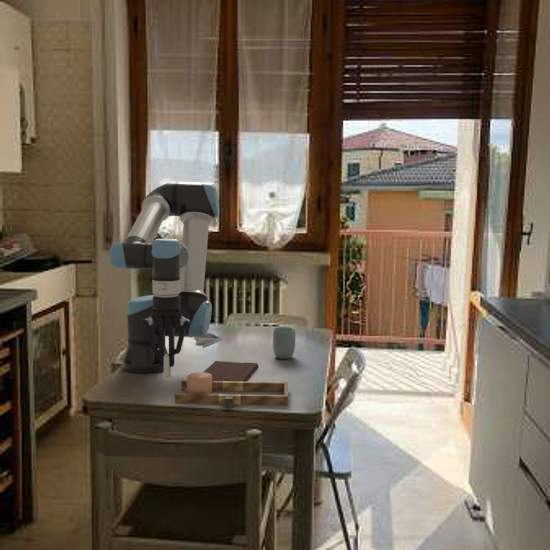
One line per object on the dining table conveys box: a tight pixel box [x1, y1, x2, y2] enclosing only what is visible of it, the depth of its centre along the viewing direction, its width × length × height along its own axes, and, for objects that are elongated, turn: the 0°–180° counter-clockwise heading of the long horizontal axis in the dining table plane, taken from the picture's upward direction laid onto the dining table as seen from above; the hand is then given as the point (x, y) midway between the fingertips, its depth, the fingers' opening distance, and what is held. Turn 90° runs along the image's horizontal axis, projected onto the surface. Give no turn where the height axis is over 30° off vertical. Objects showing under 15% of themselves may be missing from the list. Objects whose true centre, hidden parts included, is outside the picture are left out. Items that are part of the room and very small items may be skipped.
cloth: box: [193, 331, 224, 349], centre depth 234 cm, size 26×14×2 cm, turn 176°
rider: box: [186, 371, 213, 394], centre depth 171 cm, size 7×7×6 cm
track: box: [174, 380, 289, 409], centre depth 170 cm, size 31×14×2 cm, turn 89°
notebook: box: [203, 360, 259, 382], centre depth 191 cm, size 15×20×2 cm
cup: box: [272, 326, 296, 360], centre depth 210 cm, size 8×8×10 cm
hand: (167, 377), depth 170 cm, fingers closed
